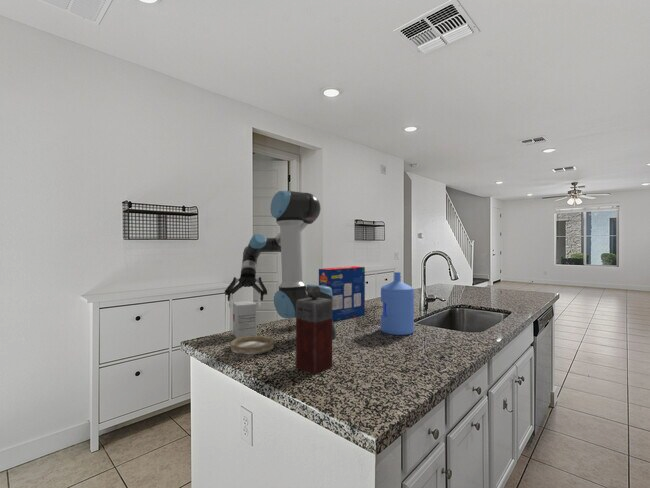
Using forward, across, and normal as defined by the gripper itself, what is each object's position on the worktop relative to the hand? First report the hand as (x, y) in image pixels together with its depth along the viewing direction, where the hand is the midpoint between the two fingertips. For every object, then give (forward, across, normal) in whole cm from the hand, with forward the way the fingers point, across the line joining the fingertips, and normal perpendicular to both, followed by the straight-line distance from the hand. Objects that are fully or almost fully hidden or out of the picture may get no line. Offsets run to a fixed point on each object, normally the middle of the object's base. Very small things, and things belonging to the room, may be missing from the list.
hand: (244, 306), depth 164 cm
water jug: (+12, -72, -5) cm, 74 cm away
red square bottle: (+42, -29, +25) cm, 57 cm away
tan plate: (+26, -6, +8) cm, 28 cm away
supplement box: (+13, -1, -5) cm, 14 cm away
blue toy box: (-9, -50, -27) cm, 58 cm away
